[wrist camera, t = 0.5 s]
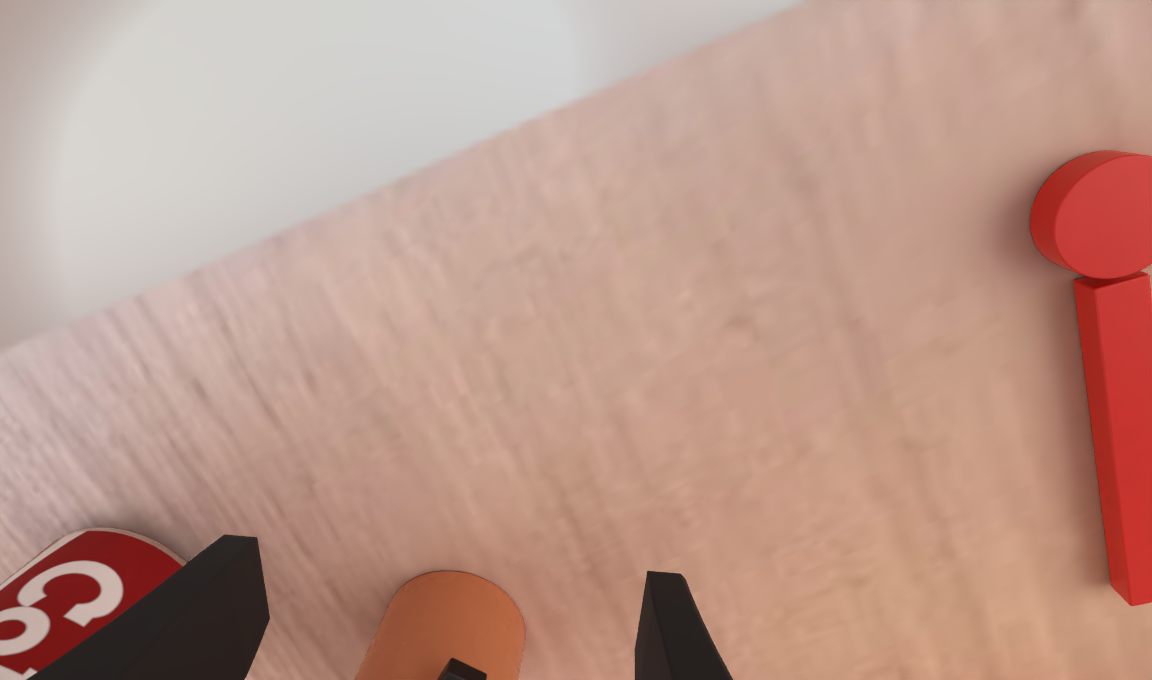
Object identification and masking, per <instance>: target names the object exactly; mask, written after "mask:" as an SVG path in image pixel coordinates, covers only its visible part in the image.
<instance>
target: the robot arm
mask: <svg viewBox="0 0 1152 680" xmlns="http://www.w3.org/2000/svg"><path fill="white" fill-rule="evenodd" d="M269 620H270V616H269V609H268V603H267V597H266V590H265V584H264V577H263V571H262V565H261V558H260V552H259V546H258V539H257V537H246V536H234V535H223V536H222V537H221V538H219V539H218V540H217V541H215V542H214V543H213V544H211V545H210V546H209V547H207V548H206V549H205V550H204V551H202V552H201V553H200V554H198V555H197V556H196V557H195V558H193V559H192V560H191V561H189V562H188V563H187V564H186V565H184V566H183V567H182V568H180V569H179V570H178V571H177V572H175V573H174V574H173V575H171V576H170V577H169V578H168V579H166V580H165V581H164V582H162V583H161V584H160V585H159V586H157V587H156V588H155V589H153V590H152V591H151V592H149V593H148V594H147V595H145V596H144V597H143V598H142V599H140V600H139V601H138V602H136V603H135V604H134V605H132V606H131V607H130V608H128V609H127V610H126V611H124V612H123V613H122V614H120V615H119V616H118V617H116V618H115V619H114V620H112V621H111V622H109V623H108V624H107V625H105V626H104V627H102V628H101V629H99V630H98V631H97V632H95V633H94V634H92V635H91V636H89V637H88V638H87V639H85V640H84V641H82V642H81V643H79V644H78V645H77V646H75V647H74V648H72V649H71V650H70V651H68V652H67V653H65V654H64V655H62V656H61V657H60V658H58V659H57V660H55V661H54V662H52V663H51V664H49V665H48V666H46V667H45V668H43V669H42V670H40V671H39V672H37V673H35V674H34V675H32V676H31V677H29V678H28V679H26V680H244V679H245V677H246V676H247V674H248V671H249V669H250V667H251V664H252V662H253V660H254V657H255V655H256V652H257V650H258V648H259V645H260V643H261V640H262V638H263V635H264V632H265V630H266V627H267V625H268V622H269ZM635 680H733V679H732V677H731V675H730V673H729V671H728V669H727V667H726V666H725V664H724V662H723V660H722V658H721V656H720V654H719V653H718V651H717V649H716V647H715V645H714V643H713V641H712V639H711V637H710V635H709V633H708V630H707V628H706V626H705V624H704V622H703V620H702V618H701V616H700V613H699V611H698V609H697V607H696V604H695V602H694V600H693V597H692V595H691V592H690V590H689V587H688V584H687V582H686V579H685V578H684V577H683V576H682V575H681V574H678V573H666V572H654V571H647V577H646V584H645V590H644V596H643V602H642V609H641V615H640V621H639V627H638V633H637V640H636V646H635Z"/></svg>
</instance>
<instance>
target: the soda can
mask: <svg viewBox="0 0 1152 680" xmlns="http://www.w3.org/2000/svg"><path fill="white" fill-rule="evenodd" d="M186 564H187V563H186V562H185V561H184V560H183V559H182V558H181V557H180V556H178V555H177V554H176V553H174V552H173V551H172V550H170V549H169V548H167V547H165V546H164V545H162V544H160V543H159V542H157V541H155V540H153V539H150V538H148V537H146V536H143V535H141V534H138V533H134V532H131V531H127V530H123V529H116V528H105V527H100V528H86V529H81V530H77V531H74V532H71V533H69V534H67V535H64V536H62V537H61V538H59V539H57V540H56V541H55V542H53V543H52V544H51V545H49V546H48V547H47V548H46V549H44V550H43V551H42V552H41V553H39V554H38V555H37V556H36V557H34V558H33V559H32V560H31V561H29V562H28V563H27V564H26V565H24V566H23V567H22V568H21V569H19V570H18V571H17V572H16V573H14V574H13V575H12V576H10V577H9V578H8V579H7V580H5V581H4V582H3V583H2V584H0V680H26V679H28V678H29V677H31V676H32V675H34V674H35V673H37V672H39V671H40V670H42V669H43V668H45V667H46V666H48V665H49V664H51V663H52V662H54V661H55V660H57V659H58V658H60V657H61V656H62V655H64V654H65V653H67V652H68V651H70V650H71V649H72V648H74V647H75V646H77V645H78V644H79V643H81V642H82V641H84V640H85V639H87V638H88V637H89V636H91V635H92V634H94V633H95V632H97V631H98V630H99V629H101V628H102V627H104V626H105V625H107V624H108V623H109V622H111V621H112V620H114V619H115V618H116V617H118V616H119V615H120V614H122V613H123V612H124V611H126V610H127V609H128V608H130V607H131V606H132V605H134V604H135V603H136V602H138V601H139V600H140V599H142V598H143V597H144V596H145V595H147V594H148V593H149V592H151V591H152V590H153V589H155V588H156V587H157V586H159V585H160V584H161V583H162V582H164V581H165V580H166V579H168V578H169V577H170V576H171V575H173V574H174V573H175V572H177V571H178V570H179V569H180V568H182V567H183V566H184V565H186Z"/></svg>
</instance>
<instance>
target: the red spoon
mask: <svg viewBox="0 0 1152 680" xmlns="http://www.w3.org/2000/svg"><path fill="white" fill-rule="evenodd" d="M1030 230H1031V234H1032V238H1033V240H1034V243H1035V245H1036V247H1037V248H1038V250H1039V251H1040V252H1041V253H1042V255H1044V256H1045V257H1046V258H1047V259H1048V260H1050V261H1052V262H1053V263H1055V264H1058V265H1060V266H1062V267H1065V268H1067V269H1069V270H1072V271H1074V272H1076V273H1079V274H1081V275H1083V276H1087V277H1083V278H1079V279H1076V280H1074V282H1073V283H1074V291H1075V299H1076V307H1077V315H1078V323H1079V331H1080V339H1081V347H1082V355H1083V363H1084V371H1085V379H1086V387H1087V395H1088V403H1089V410H1090V418H1091V426H1092V434H1093V442H1094V450H1095V458H1096V466H1097V474H1098V482H1099V490H1100V498H1101V506H1102V514H1103V522H1104V530H1105V538H1106V546H1107V554H1108V562H1109V570H1110V578H1111V586H1112V587H1113V588H1114V589H1115V590H1116V591H1117V592H1118V593H1119V594H1120V596H1121V597H1122V598H1123V599H1124V600H1125V601H1126V602H1127V603H1128V604H1129V605H1130V606H1136V605H1141V604H1146V603H1151V602H1152V298H1151V287H1150V276H1149V274H1147V273H1144V272H1142V271H1140V270H1142V269H1144V268H1146V267H1147V266H1149V265H1151V264H1152V157H1151V156H1147V155H1140V154H1133V153H1126V152H1118V151H1098V152H1092V153H1089V154H1085V155H1083V156H1080V157H1077V158H1075V159H1073V160H1071V161H1070V162H1068V163H1066V164H1065V165H1063V166H1062V167H1061V168H1059V169H1058V170H1057V171H1056V172H1054V173H1053V174H1052V175H1051V176H1050V177H1049V178H1048V180H1047V181H1046V182H1045V183H1044V185H1043V186H1042V188H1041V189H1040V191H1039V192H1038V194H1037V196H1036V198H1035V201H1034V203H1033V206H1032V210H1031V215H1030Z"/></svg>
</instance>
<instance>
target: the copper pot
mask: <svg viewBox="0 0 1152 680" xmlns="http://www.w3.org/2000/svg"><path fill="white" fill-rule="evenodd" d="M525 640H526V630H525V624H524V621H523V617H522V615H521V613H520V611H519V609H518V608H517V606H516V604H515V603H514V602H513V601H512V599H511V598H510V597H509V596H508V595H507V594H506V593H505V592H504V591H503V590H501V589H500V588H499V587H497V586H496V585H494V584H492V583H491V582H489V581H487V580H485V579H483V578H480V577H478V576H475V575H472V574H468V573H463V572H455V571H439V572H432V573H428V574H424V575H421V576H419V577H416V578H414V579H413V580H411V581H409V582H408V583H406V584H405V585H404V586H402V587H401V588H400V589H399V590H398V591H397V593H396V594H395V595H394V597H393V598H392V600H391V602H390V604H389V607H388V609H387V611H386V613H385V615H384V617H383V620H382V622H381V624H380V626H379V628H378V630H377V632H376V635H375V637H374V639H373V641H372V643H371V645H370V647H369V650H368V652H367V654H366V656H365V658H364V660H363V662H362V665H361V667H360V669H359V671H358V673H357V675H356V677H355V680H518V677H519V671H520V666H521V661H522V656H523V651H524V645H525Z"/></svg>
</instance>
